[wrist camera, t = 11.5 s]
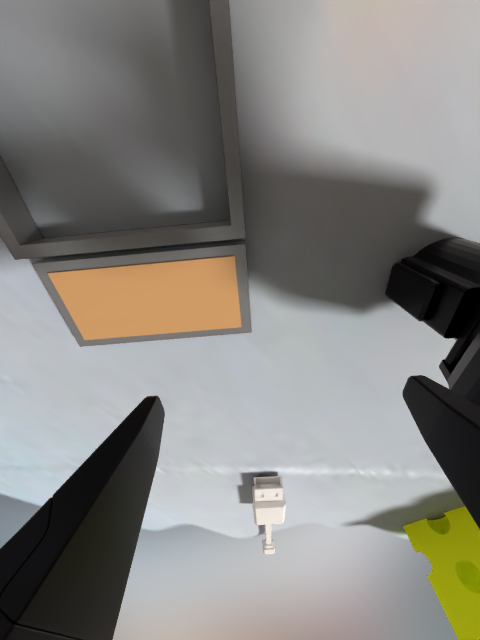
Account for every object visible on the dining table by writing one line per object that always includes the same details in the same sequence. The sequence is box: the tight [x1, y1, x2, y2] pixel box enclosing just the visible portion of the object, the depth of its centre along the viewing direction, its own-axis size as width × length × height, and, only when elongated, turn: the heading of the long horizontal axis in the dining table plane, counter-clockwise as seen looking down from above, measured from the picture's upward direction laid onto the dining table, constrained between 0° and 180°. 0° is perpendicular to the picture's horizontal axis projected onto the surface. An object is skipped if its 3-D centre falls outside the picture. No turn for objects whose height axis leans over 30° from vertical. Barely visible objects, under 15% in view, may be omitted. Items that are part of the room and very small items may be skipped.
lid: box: [33, 241, 252, 347], centre depth 18 cm, size 15×7×1 cm, turn 95°
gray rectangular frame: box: [0, 0, 245, 260], centre depth 11 cm, size 15×17×2 cm
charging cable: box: [252, 476, 286, 554], centre depth 41 cm, size 5×31×3 cm, turn 4°
